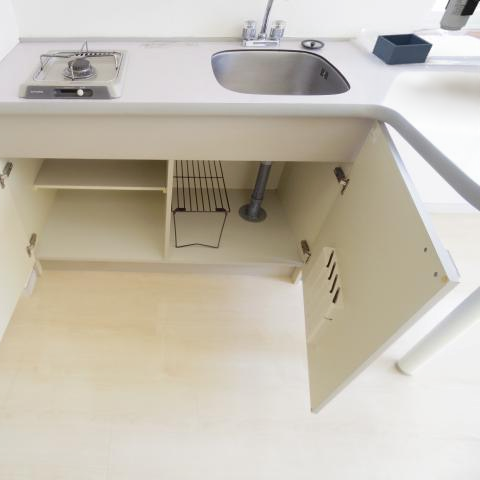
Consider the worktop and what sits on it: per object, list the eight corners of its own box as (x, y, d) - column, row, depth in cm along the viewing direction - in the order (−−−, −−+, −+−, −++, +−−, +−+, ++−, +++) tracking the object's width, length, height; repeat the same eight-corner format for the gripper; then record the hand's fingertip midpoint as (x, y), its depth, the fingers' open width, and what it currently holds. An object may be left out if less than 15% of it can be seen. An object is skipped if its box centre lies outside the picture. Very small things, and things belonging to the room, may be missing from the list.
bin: (424, 62, 121) (433, 44, 117) (388, 64, 121) (395, 46, 117) (406, 50, 130) (413, 33, 125) (372, 52, 130) (378, 35, 126)
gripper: (471, -108, 84) (424, 4, 100) (533, -108, 71) (467, 22, 87) (503, -111, 84) (450, 3, 100) (570, -110, 70) (497, 20, 87)
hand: (458, 11), depth 94 cm, fingers closed on energy drink can, 6 cm apart
